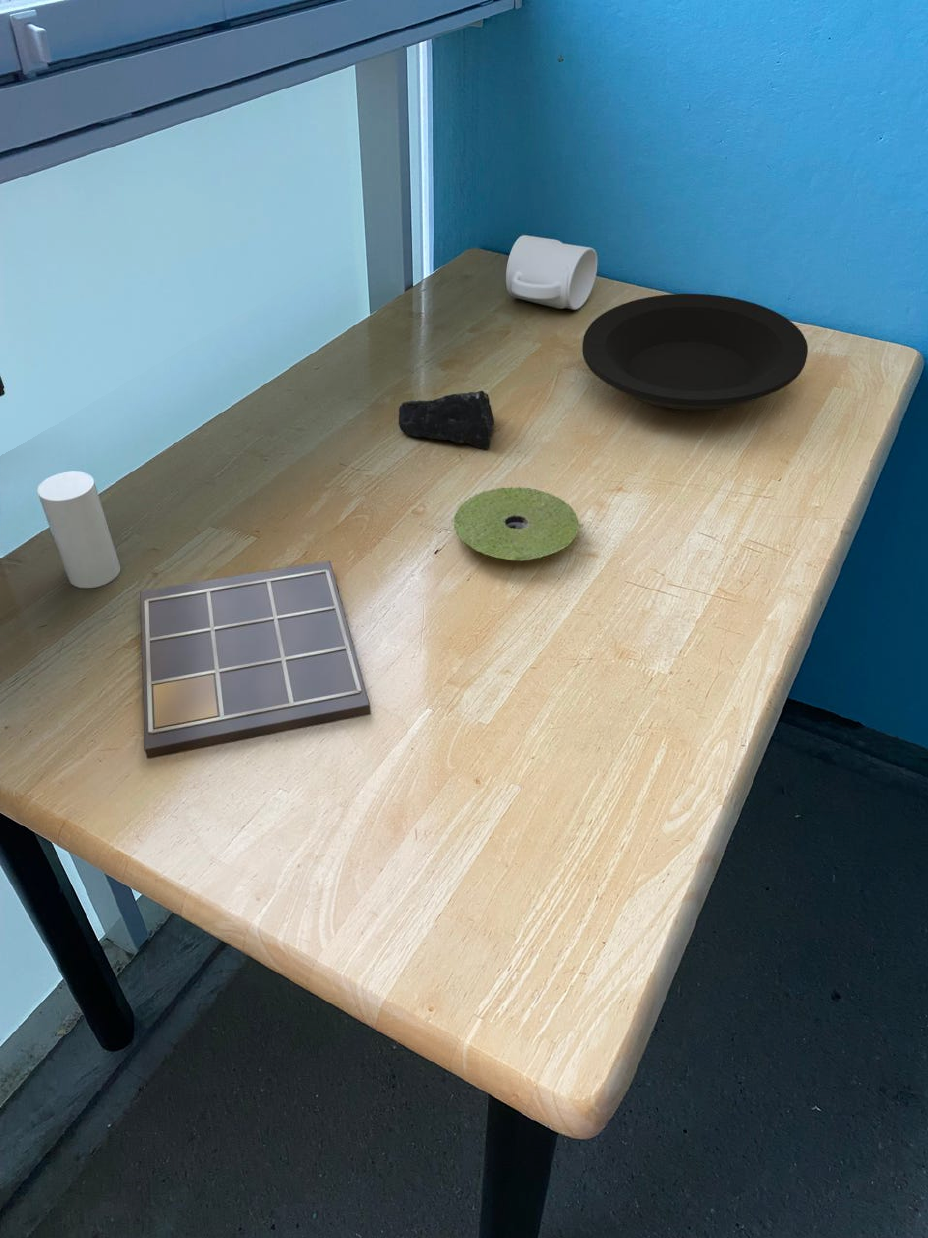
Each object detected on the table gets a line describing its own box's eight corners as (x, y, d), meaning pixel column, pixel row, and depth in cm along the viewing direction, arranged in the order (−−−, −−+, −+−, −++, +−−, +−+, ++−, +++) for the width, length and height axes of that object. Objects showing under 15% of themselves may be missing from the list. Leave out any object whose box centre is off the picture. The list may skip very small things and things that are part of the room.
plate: (747, 472, 93) (759, 423, 90) (537, 411, 103) (540, 364, 99) (824, 365, 111) (836, 320, 108) (639, 321, 121) (645, 278, 117)
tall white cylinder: (67, 592, 79) (35, 504, 73) (69, 561, 82) (38, 475, 77) (120, 583, 80) (93, 495, 74) (120, 553, 83) (94, 467, 77)
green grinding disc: (567, 584, 80) (568, 566, 79) (440, 566, 82) (440, 548, 81) (585, 512, 88) (586, 494, 87) (469, 496, 90) (469, 479, 89)
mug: (532, 283, 130) (535, 224, 125) (594, 296, 127) (600, 236, 122) (493, 314, 122) (495, 253, 117) (559, 329, 119) (563, 266, 114)
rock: (412, 408, 103) (410, 359, 100) (503, 419, 102) (504, 369, 98) (394, 440, 98) (391, 390, 94) (489, 452, 96) (490, 401, 93)
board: (147, 759, 65) (143, 748, 65) (142, 600, 79) (139, 590, 78) (370, 714, 69) (369, 704, 68) (331, 568, 82) (329, 558, 81)
